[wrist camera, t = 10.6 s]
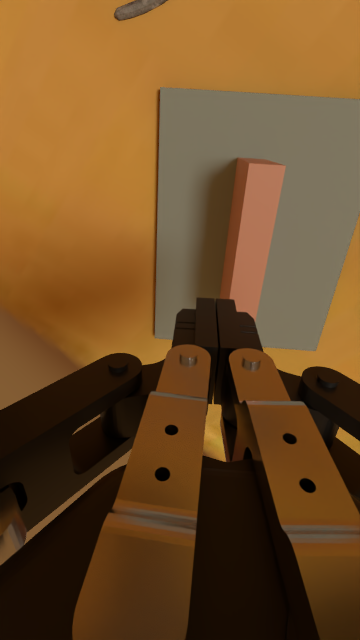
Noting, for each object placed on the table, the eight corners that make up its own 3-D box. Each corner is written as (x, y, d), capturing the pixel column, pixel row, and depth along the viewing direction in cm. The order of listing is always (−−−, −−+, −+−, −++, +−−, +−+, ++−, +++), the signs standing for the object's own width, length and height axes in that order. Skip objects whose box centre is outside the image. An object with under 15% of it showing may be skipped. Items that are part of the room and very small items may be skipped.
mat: (161, 88, 20) (160, 87, 20) (389, 102, 20) (394, 101, 19) (155, 334, 29) (154, 338, 28) (313, 347, 29) (315, 351, 28)
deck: (237, 157, 21) (249, 163, 16) (265, 159, 21) (286, 165, 16) (219, 296, 26) (224, 335, 21) (242, 297, 26) (252, 337, 21)
